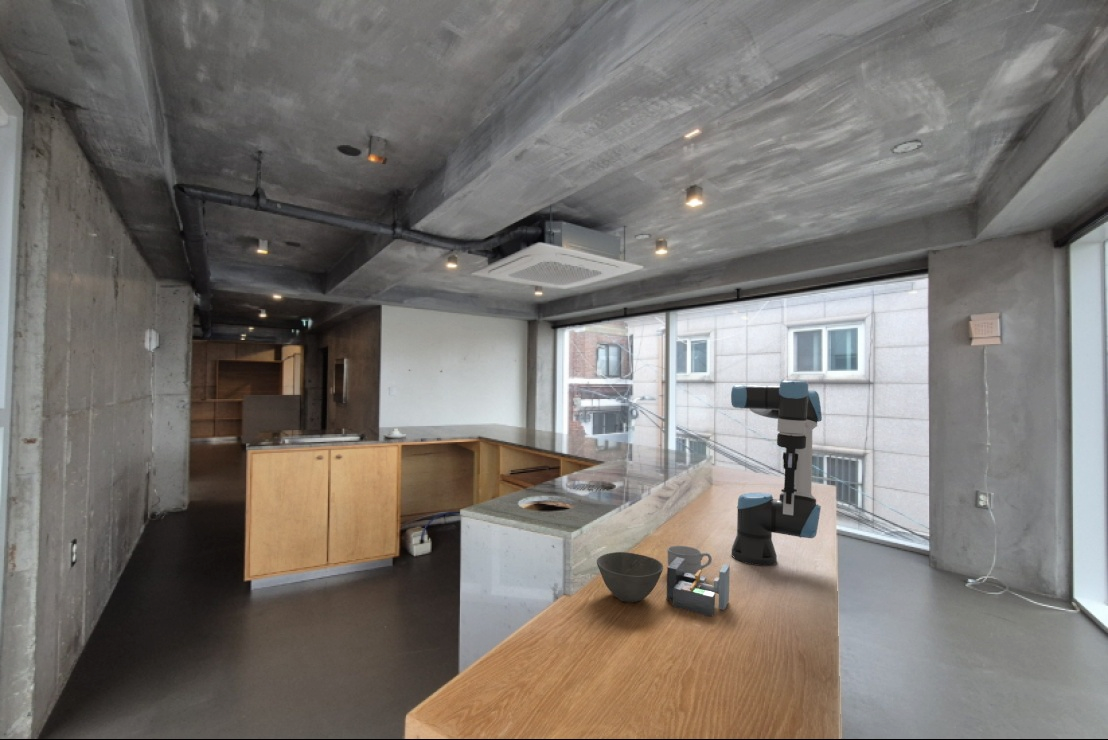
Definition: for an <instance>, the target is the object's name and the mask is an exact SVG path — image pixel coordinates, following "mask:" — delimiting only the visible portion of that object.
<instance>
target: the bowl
mask: <svg viewBox="0 0 1108 740" xmlns="http://www.w3.org/2000/svg"><path fill="white" fill-rule="evenodd" d="M596 565H597V568H598V570H599V572H600V575H601V578H602V580H603V582H604V584H605V586H606V588H607V589H608V591H610V593H611V594H612V595H613V596H614V597H616V598H617V599H619V600H620V601H623V602H625V603H637V602H639V601H641V600H644V599H645V598H646V597H648V595H650V594H651V593H652V591H653V590H654V589H655V587H656V585H657V584H658V582H659V579H660V578H661V575H662V573H663V570H664V565H663V563H662V562H661V561H660V560H658V559H657V558H654V557H651V556H646V555H643V554H638V553H635V552H634V553H633V552H625V551H615V552H609V553H604V554H603V555H601V556H599V557H598V558H597V559H596Z"/></svg>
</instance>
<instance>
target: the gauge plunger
mask: <svg viewBox="0 0 1108 740" xmlns="http://www.w3.org/2000/svg"><path fill="white" fill-rule="evenodd" d="M730 569H731V568H730V564H727V563H723V565H722V567H721V568H720V570H719V576H718V577H717V576H716V577H714V579H713V585H712V584H708V583H706V584H704V583H700V582H698V583H697V585H701V589H702V590H706V591H710V592H714V593H715V594H718V609H719V610H723V611H725V609H726V608H727V606H728V603H729V600H730Z"/></svg>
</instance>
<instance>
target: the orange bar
mask: <svg viewBox="0 0 1108 740" xmlns="http://www.w3.org/2000/svg"><path fill="white" fill-rule="evenodd" d="M702 572H703V569H702V570H698V572H697V573H696V574H695V578H696V580H695V581H694V583H693V584H692V585H691V587H690V590H693V588H694V587H695V586H696V584H697V582H699V581H700V576H701V575H702Z"/></svg>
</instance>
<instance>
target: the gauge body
mask: <svg viewBox="0 0 1108 740" xmlns="http://www.w3.org/2000/svg"><path fill="white" fill-rule="evenodd" d="M666 570H667V571H666V600H668V601H672V607H673V608H677V609H680V608H682V609H681V610H684V609H685V611H688V610H689V611H688V612H691V613H692V612H693V613H695V612H696V613H695V614H700V615H703V616H708V617H711V618H713V615H714V614H715V613H716V612H715V611H716V609H715V608H716V607H715V606H716V593H714V592H710V591H706V590H702V589H701V585H697V584H696V586H695V587H694V588H693V590H690V587H691V585H692V584H693V583H694V581H695V580H696V578H695V574H690V573H685V559H684V558H679V557H677V558H676V559H675V560H674V561H673V562H672V563H671V564H670V565H669V566H667V567H666ZM699 582H700V583H704V584H707V576H703V575H700V581H699ZM697 583H698V582H697Z"/></svg>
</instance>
